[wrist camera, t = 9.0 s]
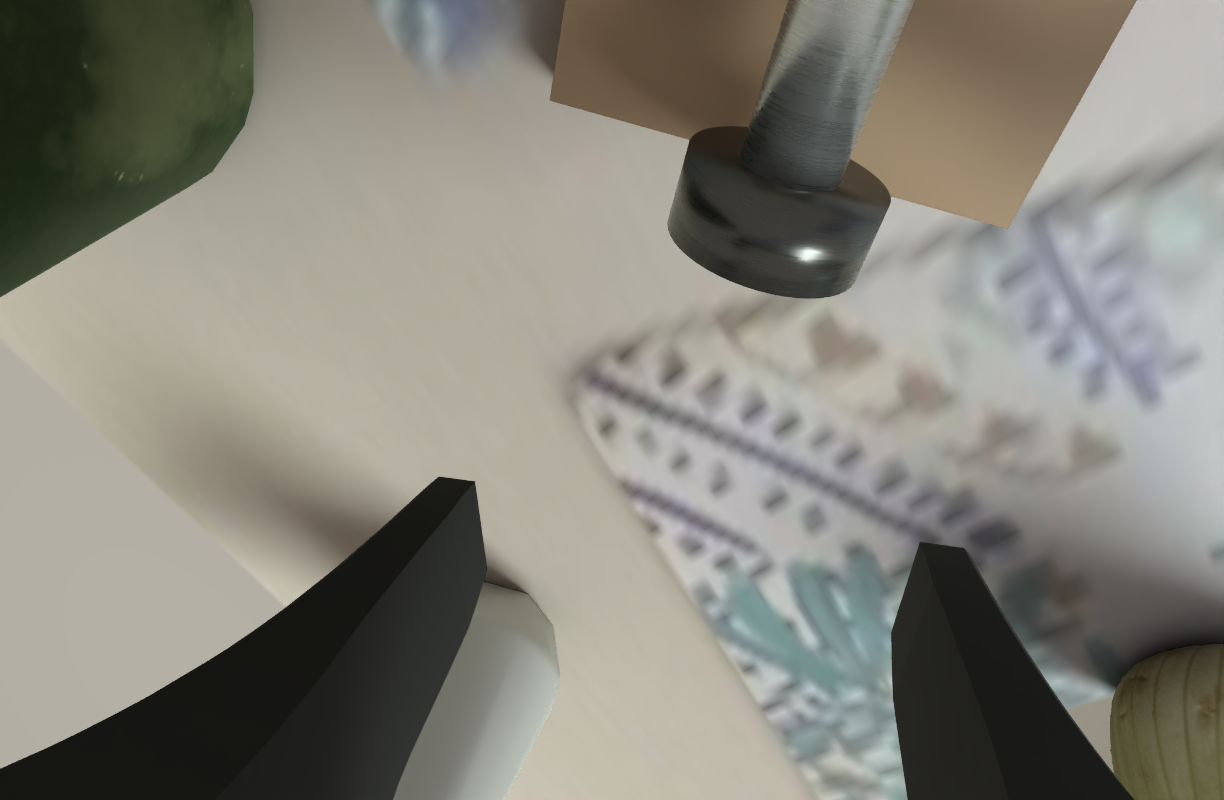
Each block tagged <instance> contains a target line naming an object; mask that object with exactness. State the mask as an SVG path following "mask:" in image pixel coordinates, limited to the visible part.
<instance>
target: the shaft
mask: <svg viewBox="0 0 1224 800" xmlns="http://www.w3.org/2000/svg"><path fill="white" fill-rule="evenodd" d="M913 3H914V0H788V2H787V5H786V8H785V12H784V15H783V18H782V21H781V24H780V28H779V31H778V34H777V37H776V40H775V43H774V47H773V50H772V53H771V56H770V59H769V62H768V66H767V69H766V72H765V75H764V78H763V82H762V85H761V88H760V91H759V94H758V97H757V101H756V104H755V107H754V110H753V113H752V116H751V120H750V123H749V126H748V127H738V126H721V127H712V128H707V129H704V130H701V131H699V132H697V133H695V134H694V135H693V136H692V137H691V139H690V141H689V145H688V148H687V152H686V156H685V160H684V163H683V167H682V171H681V174H680V178H679V182H678V185H677V189H676V193H675V196H674V200H673V204H672V207H671V211H670V215H669V218H668V230H669V233H670V236H671V237H672V239H673V241H674V242H675V243H676V245H677V246H678V247H679V248H680V249H681V250H682V251H683V252H684V253H685V254H686V255H687V256H688V257H690V258H691V259H692V260H694V261H695V262H696V263H698V264H699V265H701V266H702V267H704V268H706V269H707V270H709V271H711V272H713V273H715V274H716V275H718V276H721V277H723V278H725V279H727V280H729V281H732V282H734V283H737V284H739V285H742V286H745V287H748V288H751V289H754V290H757V291H761V292H765V293H769V294H774V295H779V296H785V297H793V298H824V297H831V296H834V295H838V294H840V293H843V292H845V291H846V290H848V289H849V288H850V287H851V286H852V285H853V284H854V283H855V280H856V278H857V276H858V274H859V272H860V269H861V267H862V265H863V263H864V261H865V258H866V256H867V254H868V252H869V250H870V247H871V245H872V243H873V241H874V238H875V236H876V234H877V232H878V230H879V227H880V225H881V223H882V221H883V219H884V216H885V214H886V212H887V210H888V208H889V205H890V202H891V196H890V194H889V191H888V190H887V188H886V186H885V185H884V184H883V183H882V182H881V181H880V180H879V179H878V178H877V177H876V176H875V175H874V174H872V173H871V172H870V171H868V170H867V169H866V168H864V167H863V166H861V165H859V164H858V163H856V162H854V161H853V160H851V159H850V158H851V156H852V153H853V151H854V148H855V146H856V143H857V141H858V139H859V136H860V134H861V131H862V129H863V126H864V124H865V121H866V119H867V116H868V114H869V111H870V109H871V106H872V104H873V101H874V99H875V97H876V94H877V92H878V89H879V87H880V84H881V82H882V79H883V77H884V74H885V72H886V69H887V67H888V64H889V62H890V60H891V57H892V55H893V52H894V50H895V47H896V45H897V42H898V40H899V37H900V35H901V32H902V30H903V27H904V25H905V22H906V20H907V18H908V15H909V13H910V10H911V8H912V5H913Z"/></svg>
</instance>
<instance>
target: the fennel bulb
mask: <svg viewBox="0 0 1224 800" xmlns="http://www.w3.org/2000/svg"><path fill="white" fill-rule="evenodd" d="M1110 717H1111V718H1110V741H1111V750H1110V751H1111V754H1112V763H1113V770H1114V775H1115V776H1116V777H1117V778H1118V780H1119V781H1120V782H1121V784H1122V785H1123V786H1124V787H1125V789H1126V790H1127V791H1128V792H1129V793H1130V795H1131V796H1132V797H1133V798H1134V799H1135V800H1224V644H1209V645H1203V646H1197V645H1193V646H1186V647H1183V648H1179V649H1176V648H1175V649H1173V650H1171V651H1168V652H1166V651H1165V652H1161V653H1158V654H1156V655H1154V656H1151V657H1148V658H1146V659H1145V660H1142V661H1140V662H1139V663H1136V664H1135V665H1134V666H1133V668H1132V669H1130V670H1129V671H1128V672H1127V674H1125V675H1124V677H1122V678H1121V681H1120V683H1119V684H1118V687H1117V689H1116V692H1115V694H1114V697H1113V700H1112V709H1111V716H1110Z"/></svg>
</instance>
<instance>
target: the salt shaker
mask: <svg viewBox="0 0 1224 800" xmlns="http://www.w3.org/2000/svg"><path fill="white" fill-rule="evenodd" d="M559 675H560V671H559V664H558V657H557V649H556V642H555V635H554V628H553V625H552V624H551V623H550V622H549V620H548V619H547V618H546V617H545V615H544V614H543V613H542V611H541V610H540V609H539V608H538V606H537V605H536V604H535V602H534V601H533V600H532V599H531V597H530V596H529V595H528V594H526V593H522V592H519V591H515V590H511V589H508V588H504V587H501V586H497V585H494V584H490V583H486V582H483V585H482V589H481V592H480V595H479V598H478V602H477V605H476V608H475V611H474V614H473V617H472V620H471V623H470V626H469V628H468V631H467V633H466V635H465V637H464V640H463V642H462V644H461V646H460V649H459V651H458V653H457V655H456V657H455V660H454V662H453V664H452V666H451V668H450V671H449V673H448V675H447V677H446V679H445V681H444V683H443V686H442V688H441V690H440V692H439V694H438V696H437V699H436V701H435V703H434V705H433V707H432V709H431V712H430V714H429V716H428V718H427V720H426V722H425V724H424V727H423V729H422V731H421V733H420V735H419V737H418V740H417V742H416V744H415V746H414V748H413V750H412V752H411V755H410V757H409V760H408V762H407V764H406V767H405V769H404V772H403V774H402V777H401V779H400V781H399V784H398V787H397V790H396V793H395V796H394V798H393V800H505V798H506V796H507V794H508V793H509V791H510V789H511V787H512V785H513V783H514V781H515V779H516V777H517V775H518V773H519V771H520V770H521V768H522V766H523V764H524V762H525V760H526V758H527V756H528V754H529V752H530V750H531V748H532V746H533V745H534V743H535V741H536V739H537V737H538V735H539V733H540V731H541V729H542V727H543V725H544V723H545V722H546V720H547V718H548V716H549V714H550V712H551V710H552V708H553V705H554V701H555V697H556V693H557V689H558V683H559Z"/></svg>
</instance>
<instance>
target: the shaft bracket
mask: <svg viewBox="0 0 1224 800" xmlns="http://www.w3.org/2000/svg"><path fill="white" fill-rule="evenodd" d="M1136 1H1137V0H914V3H913V5H912V8H911V10H910V13H909V15H908V18H907V20H906V22H905V25H904V27H903V30H902V32H901V35H900V37H899V40H898V42H897V45H896V47H895V50H894V52H893V55H892V57H891V60H890V62H889V64H888V67H887V69H886V72H885V74H884V77H883V79H882V82H881V84H880V87H879V89H878V92H877V94H876V97H875V99H874V101H873V104H872V106H871V109H870V111H869V114H868V116H867V119H866V121H865V124H864V126H863V129H862V131H861V134H860V136H859V139H858V141H857V143H856V146H855V148H854V151H853V153H852V156H851V158H850V159H851V160H853V161H854V162H856V163H858V164H859V165H861V166H863V167H864V168H866V169H867V170H868V171H870V172H871V173H872V174H874V175H875V176H876V177H877V178H878V179H879V180H880V181H881V182H882V183H883V184H884V185H885V186H886V188H887V190H888V191H889V194H890V196H892V197H896V198H899V199H903V200H906V201H910V202H913V203H917V204H920V205H924V206H928V207H931V208H935V209H938V210H942V211H945V212H949V213H953V214H956V215H960V216H963V217H967V218H970V219H974V220H978V221H981V222H985V223H988V224H992V225H995V226H999V227H1002V228H1006V229H1008V228H1009V226H1010V224H1011V223H1012V221H1013V219H1014V217H1015V215H1016V214H1017V212H1018V210H1019V208H1020V207H1021V205H1022V203H1023V201H1024V200H1025V198H1026V196H1027V194H1028V192H1029V191H1030V189H1031V187H1032V185H1033V184H1034V182H1035V180H1036V178H1037V176H1038V175H1039V173H1040V171H1041V169H1042V168H1043V166H1044V164H1045V162H1046V160H1047V159H1048V157H1049V155H1050V153H1051V152H1052V150H1053V148H1054V146H1055V144H1056V143H1057V141H1058V139H1059V137H1060V136H1061V134H1062V132H1063V130H1064V129H1065V127H1066V125H1067V123H1068V121H1069V120H1070V118H1071V116H1072V114H1073V113H1074V111H1075V109H1076V107H1077V105H1078V104H1079V102H1080V100H1081V98H1082V97H1083V95H1084V93H1085V91H1086V89H1087V88H1088V86H1089V84H1090V82H1091V81H1092V79H1093V77H1094V75H1095V73H1096V72H1097V70H1098V68H1099V66H1100V65H1101V63H1102V61H1103V59H1104V58H1105V56H1106V54H1107V52H1108V50H1109V49H1110V47H1111V45H1112V43H1113V42H1114V40H1115V38H1116V36H1117V34H1118V33H1119V31H1120V29H1121V27H1122V26H1123V24H1124V22H1125V20H1126V18H1127V17H1128V15H1129V13H1130V11H1131V10H1132V8H1133V6H1134V4H1135V2H1136ZM787 2H788V0H565V6H564V12H563V19H562V25H561V31H560V38H559V44H558V51H557V57H556V63H555V70H554V76H553V83H552V89H551V95H550V101H553V102H557V103H560V104H564V105H568V106H571V107H575V108H578V109H582V110H585V111H589V112H593V113H596V114H600V115H603V116H607V117H610V118H614V119H617V120H621V121H625V122H628V123H632V124H635V125H639V126H642V127H646V128H650V129H653V130H657V131H660V132H664V133H667V134H671V135H675V136H678V137H682V138H685V139H689V140H690V139H691V137H692V136H693V135H694V134H695V133H697V132H699V131H701V130H704V129H707V128H712V127H721V126H738V127H748V126H749V123H750V120H751V116H752V113H753V110H754V107H755V104H756V101H757V97H758V94H759V91H760V88H761V85H762V82H763V78H764V75H765V72H766V69H767V66H768V62H769V59H770V56H771V53H772V50H773V47H774V43H775V40H776V37H777V34H778V31H779V28H780V24H781V21H782V18H783V15H784V12H785V8H786V5H787Z"/></svg>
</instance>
